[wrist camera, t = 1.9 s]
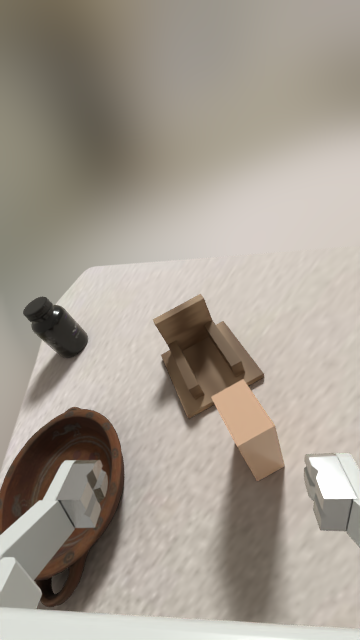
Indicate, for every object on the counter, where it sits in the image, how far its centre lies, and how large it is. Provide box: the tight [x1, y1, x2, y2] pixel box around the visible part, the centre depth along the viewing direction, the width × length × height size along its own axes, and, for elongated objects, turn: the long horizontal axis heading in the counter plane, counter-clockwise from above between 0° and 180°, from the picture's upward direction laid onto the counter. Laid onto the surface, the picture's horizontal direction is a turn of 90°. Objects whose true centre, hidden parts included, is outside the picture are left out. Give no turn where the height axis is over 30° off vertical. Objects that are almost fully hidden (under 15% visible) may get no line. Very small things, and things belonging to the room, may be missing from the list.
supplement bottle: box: [23, 297, 88, 357], centre depth 53 cm, size 7×7×12 cm
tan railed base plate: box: [153, 294, 264, 418], centre depth 39 cm, size 12×12×9 cm
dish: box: [0, 407, 124, 607], centre depth 35 cm, size 17×22×5 cm
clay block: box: [211, 379, 285, 482], centre depth 28 cm, size 4×5×12 cm
